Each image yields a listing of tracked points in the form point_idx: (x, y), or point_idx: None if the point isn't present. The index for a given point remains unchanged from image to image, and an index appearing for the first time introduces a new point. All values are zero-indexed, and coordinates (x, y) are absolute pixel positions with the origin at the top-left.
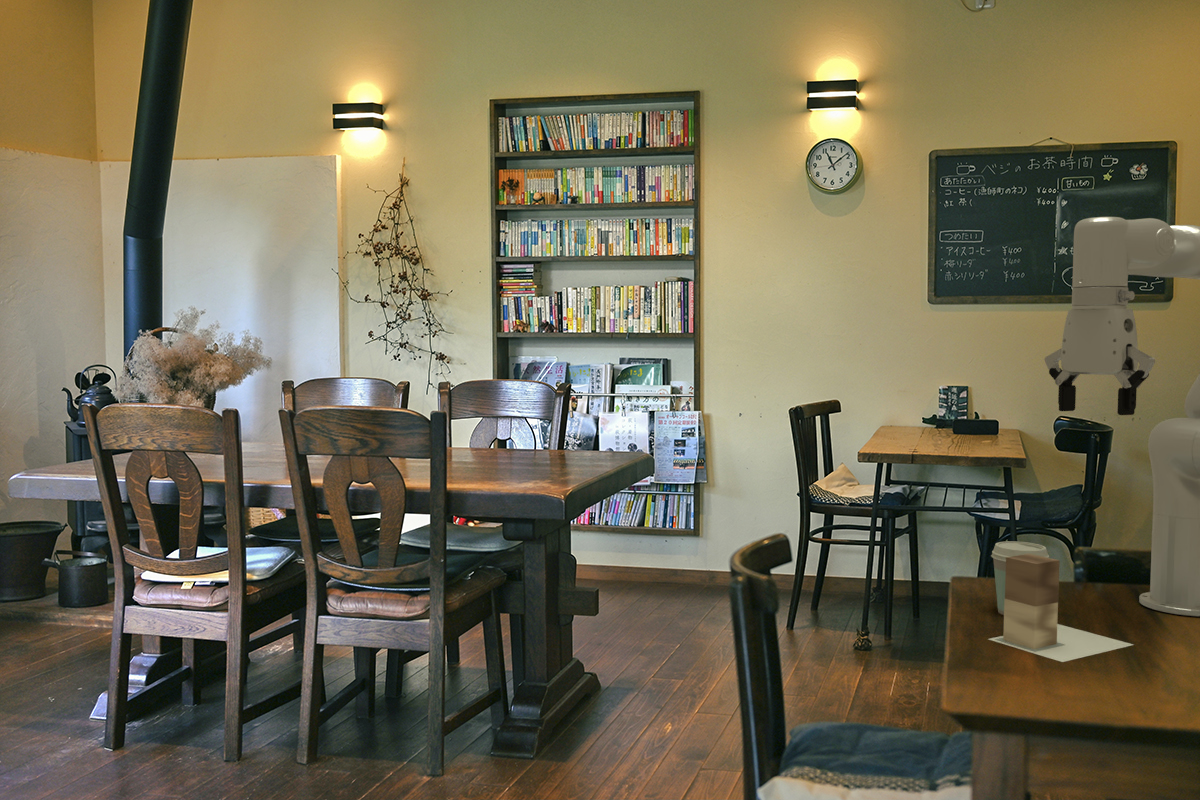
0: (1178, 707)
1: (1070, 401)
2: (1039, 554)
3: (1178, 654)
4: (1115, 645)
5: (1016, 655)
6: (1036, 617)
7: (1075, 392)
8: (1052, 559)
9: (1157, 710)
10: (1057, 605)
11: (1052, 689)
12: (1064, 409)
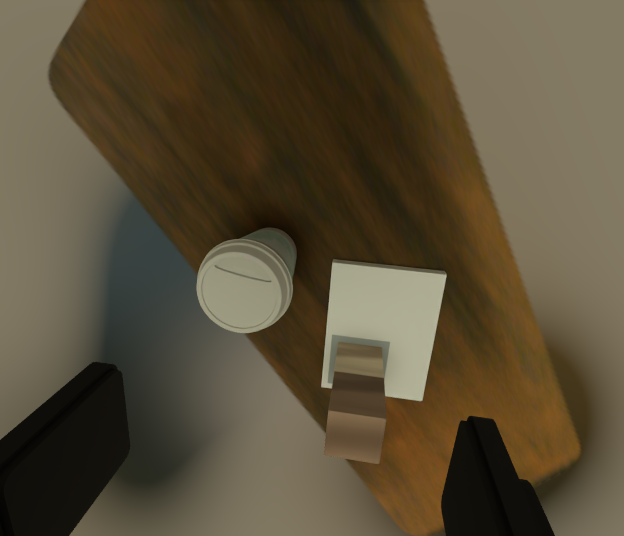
0: (556, 412)
1: (94, 441)
2: (284, 302)
3: (487, 228)
4: (431, 297)
5: None
6: None
7: (44, 446)
8: (375, 421)
9: (542, 433)
10: (383, 376)
11: (443, 448)
12: (126, 448)
